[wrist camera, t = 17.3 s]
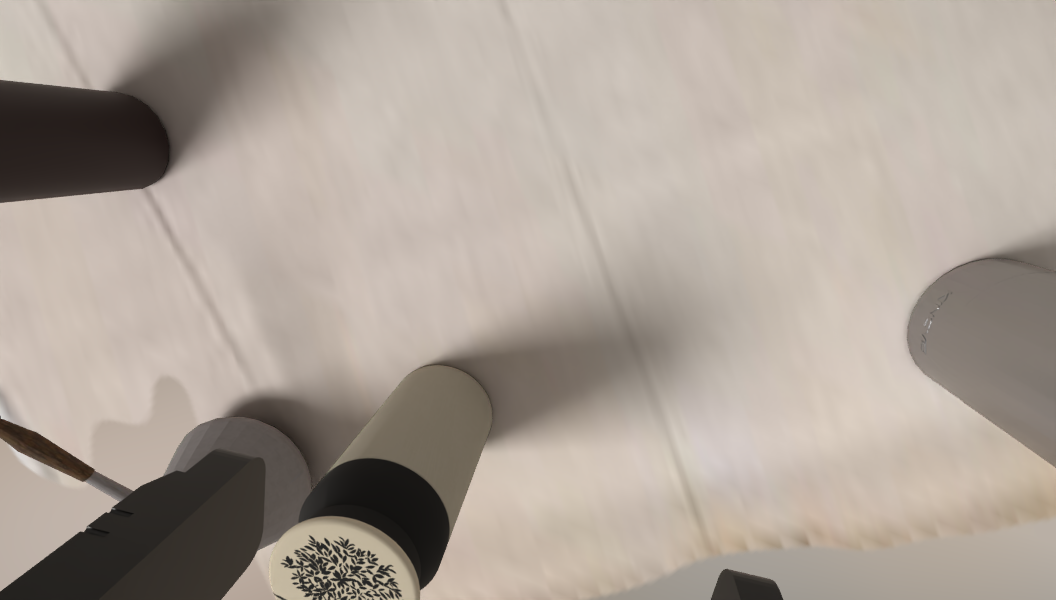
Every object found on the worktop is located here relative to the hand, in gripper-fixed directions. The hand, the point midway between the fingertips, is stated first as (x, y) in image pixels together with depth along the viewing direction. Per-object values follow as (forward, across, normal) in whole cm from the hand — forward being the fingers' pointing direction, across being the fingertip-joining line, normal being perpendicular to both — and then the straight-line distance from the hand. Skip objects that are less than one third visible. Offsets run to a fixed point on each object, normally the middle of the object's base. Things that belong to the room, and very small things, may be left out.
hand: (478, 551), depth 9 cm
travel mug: (+30, +7, +15) cm, 35 cm away
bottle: (+30, +33, -1) cm, 45 cm away
